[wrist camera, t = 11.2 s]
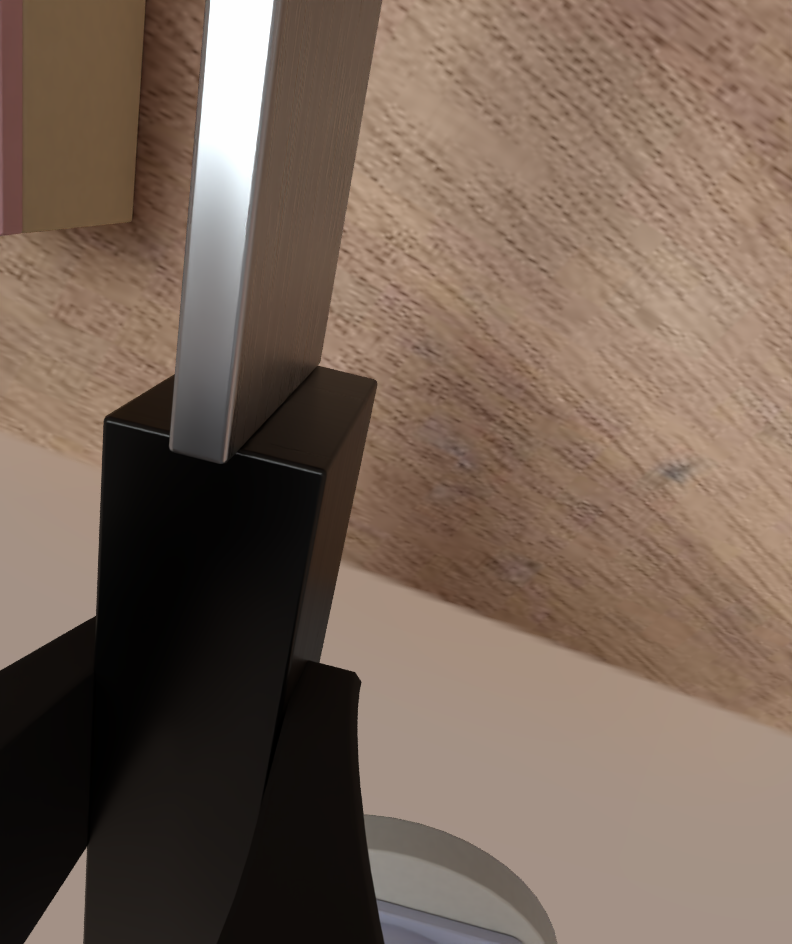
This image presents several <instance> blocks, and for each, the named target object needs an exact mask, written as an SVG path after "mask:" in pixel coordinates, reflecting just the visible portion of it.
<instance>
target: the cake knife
mask: <svg viewBox="0 0 792 944" xmlns="http://www.w3.org/2000/svg"><path fill="white" fill-rule="evenodd" d="M381 4H382V0H206V1H205V13H204V25H203V38H202V50H201V62H200V74H199V86H198V99H197V111H196V123H195V135H194V147H193V160H192V172H191V184H190V196H189V209H188V221H187V233H186V245H185V257H184V270H183V282H182V294H181V306H180V318H179V331H178V343H177V355H176V367H175V374H174V375H173V376H171V377H169V378H168V379H166V380H164V381H163V382H161V383H159V384H158V385H156V386H154V387H153V388H151V389H150V390H148V391H146V392H145V393H143V394H141V395H140V396H138V397H136V398H135V399H133V400H131V401H130V402H128V403H127V404H125V405H123V406H122V407H120V408H118V409H117V410H115V411H113V412H112V413H110V414H108V415H107V416H106V417H105V419H104V426H103V451H102V478H101V503H100V529H99V555H98V580H97V606H96V631H95V657H94V691H93V716H92V741H91V765H90V790H89V815H88V839H87V864H86V889H85V890H86V891H85V914H84V916H85V917H84V941H83V944H217V942H218V939H219V936H220V934H221V931H222V929H223V926H224V923H225V921H226V918H227V916H228V913H229V911H230V908H231V905H232V903H233V900H234V897H235V894H236V891H237V888H238V885H239V882H240V879H241V876H242V872H243V869H244V866H245V863H246V860H247V857H248V853H249V850H250V846H251V842H252V838H253V834H254V831H255V827H256V823H257V819H258V815H259V812H260V808H261V804H262V800H263V797H264V793H265V789H266V785H267V781H268V778H269V774H270V770H271V766H272V762H273V759H274V755H275V751H276V747H277V743H278V740H279V736H280V732H281V728H282V725H283V721H284V717H285V713H286V710H287V706H288V702H289V700H290V698H291V695H292V693H293V691H294V689H295V687H296V684H297V682H298V680H299V678H300V676H301V674H302V672H303V670H304V668H305V665H306V663H307V661H308V660H310V661H314V662H318V663H319V662H320V656H321V652H322V648H323V643H324V638H325V633H326V628H327V624H328V619H329V614H330V609H331V604H332V599H333V595H334V590H335V585H336V581H337V576H338V571H339V566H340V561H341V557H342V552H343V547H344V542H345V537H346V533H347V528H348V523H349V518H350V513H351V509H352V504H353V499H354V494H355V490H356V485H357V480H358V475H359V470H360V466H361V461H362V456H363V451H364V446H365V442H366V437H367V432H368V427H369V422H370V418H371V413H372V408H373V403H374V399H375V394H376V389H377V381H376V380H374V379H371V378H367V377H362V376H358V375H354V374H350V373H346V372H342V371H338V370H334V369H330V368H325V367H321V366H318V365H319V363H320V361H321V355H322V350H323V344H324V338H325V332H326V326H327V320H328V314H329V309H330V303H331V297H332V291H333V285H334V279H335V274H336V268H337V262H338V256H339V250H340V244H341V238H342V233H343V227H344V221H345V215H346V209H347V203H348V197H349V192H350V186H351V180H352V174H353V168H354V162H355V156H356V151H357V145H358V139H359V133H360V127H361V121H362V115H363V110H364V104H365V98H366V92H367V86H368V80H369V74H370V69H371V63H372V57H373V51H374V45H375V39H376V33H377V28H378V22H379V16H380V10H381Z"/></svg>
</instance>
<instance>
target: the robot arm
mask: <svg viewBox="0 0 792 944" xmlns="http://www.w3.org/2000/svg"><path fill="white" fill-rule="evenodd" d="M95 631H96V616H95V617H93V618H91V619H89V620H88V621H86V622H84V623H82V624H80V625H79V626H77V627H75V628H74V629H72V630H70V631H68V632H66V633H65V634H63V635H61V636H59V637H58V638H56V639H54V640H53V641H51V642H49V643H47V644H46V645H44V646H42V647H41V648H39V649H37V650H35V651H34V652H32V653H30V654H28V655H27V656H25V657H23V658H21V659H20V660H18V661H16V662H14V663H13V664H11V665H9V666H7V667H6V668H4V669H2V670H0V944H24V942H25V941H26V939H27V938H28V936H29V935H30V933H31V932H32V930H33V929H34V927H35V925H36V924H37V922H38V921H39V919H40V918H41V916H42V915H43V913H44V912H45V910H46V909H47V907H48V906H49V904H50V903H51V901H52V899H53V898H54V896H55V895H56V893H57V892H58V890H59V889H60V887H61V886H62V884H63V883H64V881H65V880H66V878H67V877H68V875H69V873H70V872H71V870H72V869H73V867H74V866H75V864H76V862H77V861H78V859H79V858H80V856H81V855H82V853H83V852H84V850H85V849H86V847H87V839H88V815H89V790H90V765H91V741H92V716H93V691H94V657H95ZM360 687H361V680H360V679H359V677H358V676H357V674H356V673H355V672H352V671H349V670H345V669H341V668H337V667H333V666H329V665H325V664H321V663H318V662H314V661H310V660H308V661H307V663H306V665H305V668H304V670H303V672H302V674H301V676H300V678H299V680H298V682H297V684H296V687H295V689H294V691H293V693H292V695H291V698H290V700H289V702H288V706H287V710H286V713H285V717H284V721H283V725H282V728H281V732H280V736H279V740H278V743H277V747H276V751H275V755H274V759H273V762H272V766H271V770H270V774H269V778H268V781H267V785H266V789H265V793H264V797H263V800H262V804H261V808H260V812H259V815H258V819H257V823H256V827H255V831H254V834H253V838H252V842H251V846H250V850H249V853H248V857H247V860H246V863H245V866H244V869H243V872H242V876H241V879H240V882H239V885H238V888H237V891H236V894H235V897H234V900H233V903H232V905H231V908H230V911H229V913H228V916H227V918H226V921H225V923H224V926H223V929H222V931H221V934H220V936H219V939H218V942H217V944H522V943H521V942H520V941H519V940H518V939H517V938H515V937H512V936H509V935H506V934H502V933H498V932H495V931H491V930H487V929H484V928H480V927H477V926H473V925H469V924H466V923H462V922H458V921H455V920H451V919H447V918H444V917H440V916H437V915H433V914H429V913H426V912H422V911H418V910H415V909H411V908H407V907H404V906H400V905H396V904H393V903H389V902H386V901H382V900H378V899H376V895H375V890H374V884H373V878H372V873H371V866H370V860H369V853H368V846H367V840H366V831H365V823H364V814H363V805H362V796H361V788H360V776H359V762H358V737H357V719H358V717H357V716H358V702H359V692H360Z"/></svg>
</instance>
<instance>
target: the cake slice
mask: <svg viewBox="0 0 792 944" xmlns="http://www.w3.org/2000/svg"><path fill="white" fill-rule="evenodd" d="M145 4H146V0H0V236H3V235H12V234H20V233H31V232H41V231H50V230H60V229H69V228H79V227H88V226H98V225H107V224H117V223H126V222H131V221H132V213H133V197H134V181H135V165H136V149H137V133H138V117H139V101H140V84H141V68H142V52H143V36H144V20H145Z"/></svg>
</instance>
